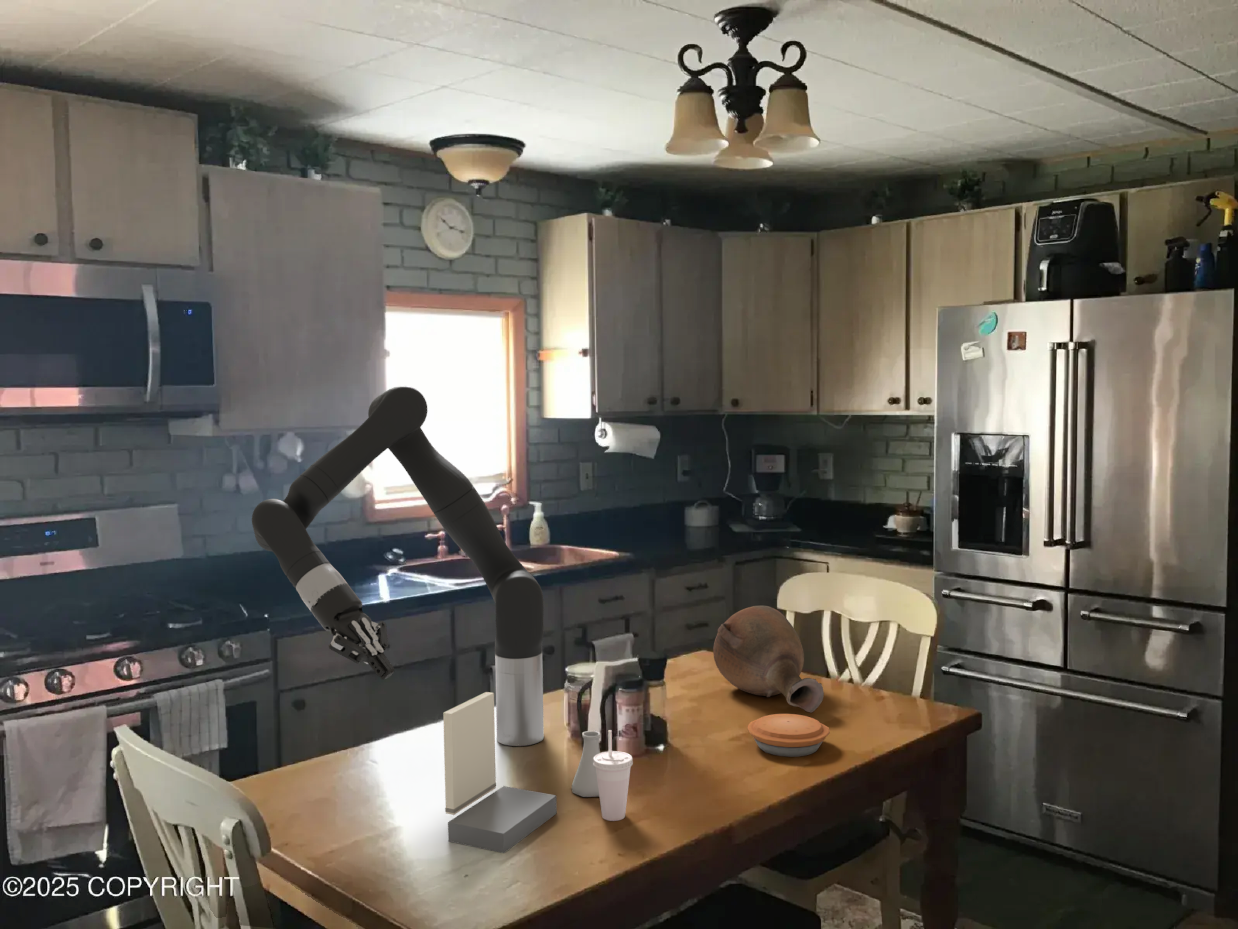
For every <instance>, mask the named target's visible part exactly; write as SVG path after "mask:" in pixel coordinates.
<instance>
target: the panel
mask: <svg viewBox="0 0 1238 929" xmlns="http://www.w3.org/2000/svg"><path fill="white" fill-rule="evenodd" d="M442 715H443V716H442V717H443V720H442V721H443V751H444V753H443V754H444V787H445V789H444V792H445V794H444V796H445V797H444V798H445V799H444V800H445V808H444V810H445V814H447V815H452V816H455V815H456V814H458V813H459V812H461V811H462V810H464V809H466V808H467V807H468V806H471V805H472V804H473V803H474V802H476V801H478V800H479V799H481V798H483V797H484V796H486V795H488V794H489V793H490V792H492V791H494V790H495V789H496V788H497V782H496V781H497V780H496V778H497V777H496V774H497V772H496V743H495V742H496V737H495V736H496V734H495V732H496V731H495V728H496V725H495V693H494V692H489V691H485V692H483V693H481V694H479V695H477V696H475V697H473V698H470V699H468V700H466V701H465V702H463V703H460V704H458V705H456V706H454V707H452V708H450V709H448V710H446V711H444V712H443V714H442Z"/></svg>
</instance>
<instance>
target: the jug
mask: <svg viewBox="0 0 1238 929" xmlns="http://www.w3.org/2000/svg"><path fill="white" fill-rule="evenodd" d="M712 648H713V649H712V652H713V660H714V662H715V665H716V668H717V669H718V671H719V672H720V674H721V675H722V676H723V677H724V679H725V680H726V681H728V683H730V684H731V685H732V686H734V687H735V688H737V689H739V690H741V691H743V692H745V693H749V694H752V695H756V696H762V697H763V696H764V697H766V698H771V696H777V695H779V694H782V695H783V696H784V698H785V700H786V703H788V705H790V706H792V707H796V708H797V707H798V708H800V709H801V710H804V711H805V712H806V713H807V712H808V713H811V714H812V713H814V712H815V710H817V708H819V707H820V705H821V704H822V702H823V700H824V693H825V692H824V691H825V690H824V687H823V683H821V682H818V681H817V679H816V678H812V677H805V678H802V677H801V673H802V672H803V668H804V662H805V654H804V649H803V645H802V642H801V639H800V637H799V634H798V632H797V631H796V629H795V628H794V626H793V625H792V623H791V622H790V621H789V620H788V619H787V617H786V616H785V615H784V614H783V613H782V612H780V611H779V610H778V609H775V608H774V607H772V606H768V605H753V606H749V607H746V608H743V609H741V610H739V611H737V612H735V613H734V614H732V615H731V616H729V617H728V618H727V619H726V621H724V623H721V624H720V626H719V627H718V628H717V633H716V637H715V639H714V643H713V647H712Z"/></svg>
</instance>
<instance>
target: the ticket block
mask: <svg viewBox="0 0 1238 929" xmlns="http://www.w3.org/2000/svg"><path fill="white" fill-rule="evenodd" d="M557 808H558V807H557V795H555V794H550V793H546V792H539V791H534V790H527V789H525V788H523V789H522V788H517V787H511V786H506V785H503V786H501V787H500V788H499V789H497V790H495V791H494V792H492V793H491V794H489V795H488V796H485V797H484V798H483V799H481V800H480V801H478V802H477V803H475V804H474V805H472V806H471V807H469V808H467V809H466V810H465V811H463V812H461V813H460V814H459V815H457V816H455V817H454V818H452V819H451V820H449V821H448V822H447V837H448V838H447V840H448V842H451V843H455V844H460V845H465V846H470V847H473V848H479V849H483V850H487V851H493V852H496V853H501V854H505V853H507V852H508V851H509V850H510V849H512V848H513V847H514V846H515V845H517V844H518V843H520V842H521V841H522V840H523V839H525V838H526V837H527V836H529V835H530V834H531V833H532V832H534V831H535V830H537V829H538V828H539V827H541V826H542V825H543V824H545V823H546V822H547V821H548V820H550V819H551V818H552V817H554V816H555V815H556V814H557Z"/></svg>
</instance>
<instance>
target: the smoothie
mask: <svg viewBox="0 0 1238 929" xmlns="http://www.w3.org/2000/svg"><path fill="white" fill-rule="evenodd" d="M607 732H608V735H607V739H608V750H607V751H602V752H600V753H599V754H597V755H595V756H594V758H593V759H594V762H593V765H594V766H595V767H596V775H597V782H598V789H599V796H598V797H599V801H600V802H599V803H600V809H601V817H602V819H604V820H606V821H609V822H615V821H621V820H623V819H624V818H625V817H626V810H627V800H628V792H629V786H630V785H629V783H630V777H631V776H630V775H631V767H632V766H633V764H634V761H633V756H632V755H631V754H629V753H628V752H624V751H618V750H617V751H616V750H613V739H612V737H613V734H612V732H613V731H612V729H608V731H607Z"/></svg>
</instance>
